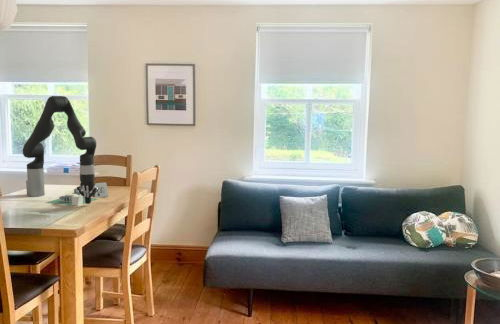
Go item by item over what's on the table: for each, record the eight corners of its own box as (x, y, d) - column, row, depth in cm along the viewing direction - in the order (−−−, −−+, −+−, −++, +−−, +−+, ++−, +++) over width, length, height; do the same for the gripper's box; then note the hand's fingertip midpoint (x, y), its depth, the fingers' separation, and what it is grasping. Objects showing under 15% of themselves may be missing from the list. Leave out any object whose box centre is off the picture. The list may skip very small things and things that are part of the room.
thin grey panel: (78, 193, 242) (78, 191, 242) (82, 193, 241) (82, 191, 241) (59, 198, 226) (59, 196, 226) (64, 199, 226) (64, 197, 225)
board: (44, 204, 229) (44, 192, 228) (67, 198, 247) (67, 187, 246) (78, 207, 223) (77, 195, 222) (99, 200, 242) (98, 189, 241)
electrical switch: (95, 199, 247) (94, 184, 246) (90, 198, 250) (89, 183, 249) (108, 196, 254) (107, 182, 253) (104, 196, 257) (103, 182, 257)
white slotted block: (60, 201, 231) (59, 196, 231) (70, 198, 240) (70, 193, 240) (73, 203, 229) (73, 197, 229) (83, 199, 238) (83, 194, 237)
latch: (65, 204, 225) (65, 194, 224) (70, 203, 229) (70, 193, 228) (78, 205, 223) (77, 195, 222) (82, 204, 227) (82, 194, 226)
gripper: (72, 173, 220) (73, 204, 222) (93, 174, 216) (94, 205, 218) (81, 171, 227) (82, 201, 229) (101, 172, 224) (102, 203, 226)
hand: (88, 203), depth 224 cm, fingers closed
